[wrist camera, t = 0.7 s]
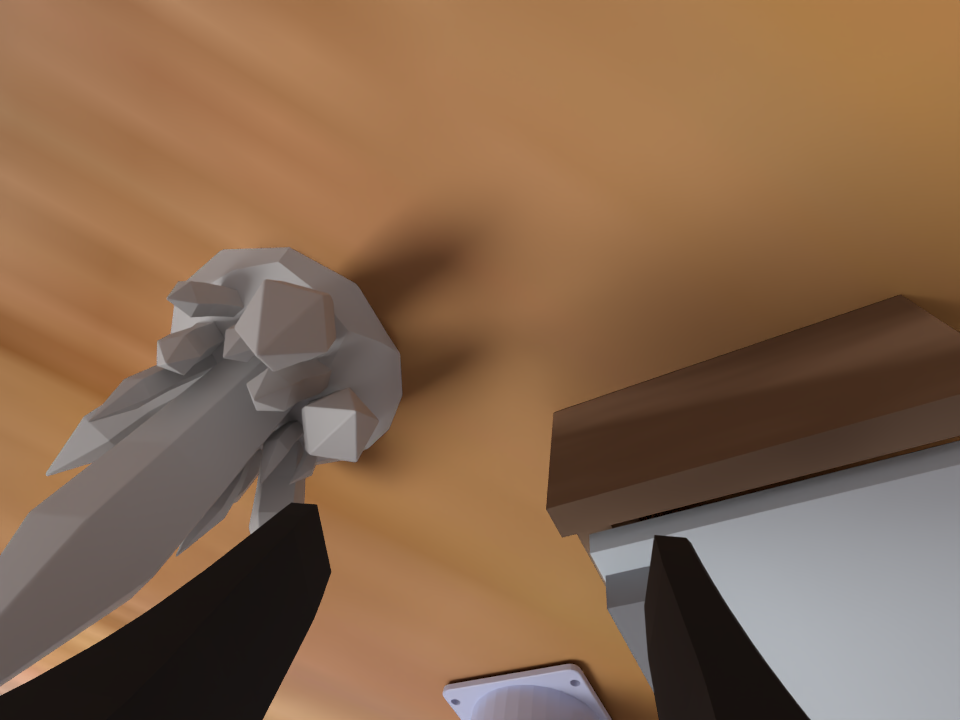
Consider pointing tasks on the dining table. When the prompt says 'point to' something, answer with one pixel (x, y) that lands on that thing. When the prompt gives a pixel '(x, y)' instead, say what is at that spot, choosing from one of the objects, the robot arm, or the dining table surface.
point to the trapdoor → (826, 583)
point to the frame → (757, 417)
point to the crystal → (200, 438)
